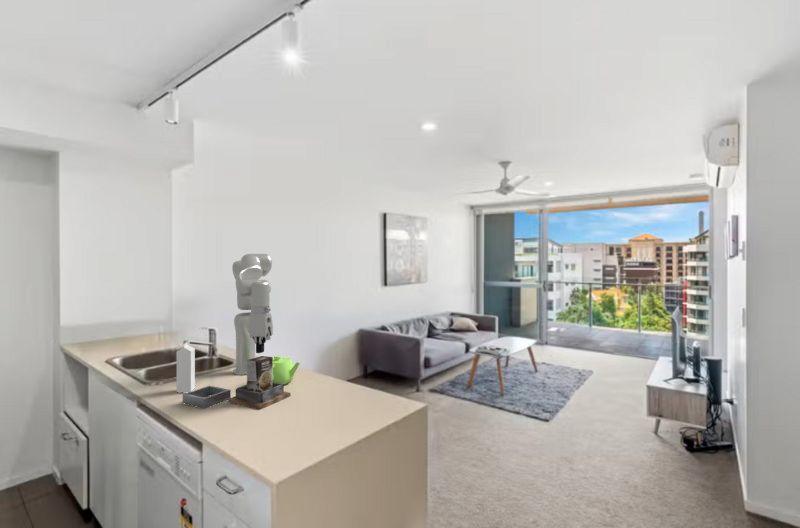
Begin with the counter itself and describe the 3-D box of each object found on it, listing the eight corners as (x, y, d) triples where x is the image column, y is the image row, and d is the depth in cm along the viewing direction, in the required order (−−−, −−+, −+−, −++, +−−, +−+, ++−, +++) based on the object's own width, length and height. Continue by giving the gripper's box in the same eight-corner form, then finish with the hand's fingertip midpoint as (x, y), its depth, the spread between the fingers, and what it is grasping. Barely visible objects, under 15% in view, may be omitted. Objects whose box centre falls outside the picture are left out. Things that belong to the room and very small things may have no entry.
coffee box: (257, 400, 169) (257, 361, 169) (246, 397, 172) (246, 359, 171) (273, 393, 177) (273, 356, 177) (262, 391, 180) (262, 355, 180)
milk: (176, 393, 181) (176, 344, 180) (181, 389, 187) (180, 341, 186) (191, 392, 182) (190, 344, 182) (195, 388, 188) (194, 341, 188)
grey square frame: (209, 394, 180) (209, 385, 180) (230, 399, 174) (230, 389, 174) (182, 403, 168) (182, 394, 168) (204, 409, 162) (204, 399, 162)
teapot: (306, 377, 207) (306, 352, 206) (292, 390, 187) (292, 361, 187) (271, 376, 208) (271, 351, 208) (253, 388, 188) (253, 360, 188)
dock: (259, 390, 186) (260, 378, 186) (290, 395, 178) (290, 383, 178) (228, 402, 170) (228, 389, 170) (260, 409, 162) (260, 395, 162)
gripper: (279, 310, 174) (279, 352, 175) (253, 307, 181) (253, 348, 181) (267, 312, 167) (266, 356, 168) (240, 309, 174) (240, 352, 174)
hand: (260, 352), depth 174 cm, fingers closed
